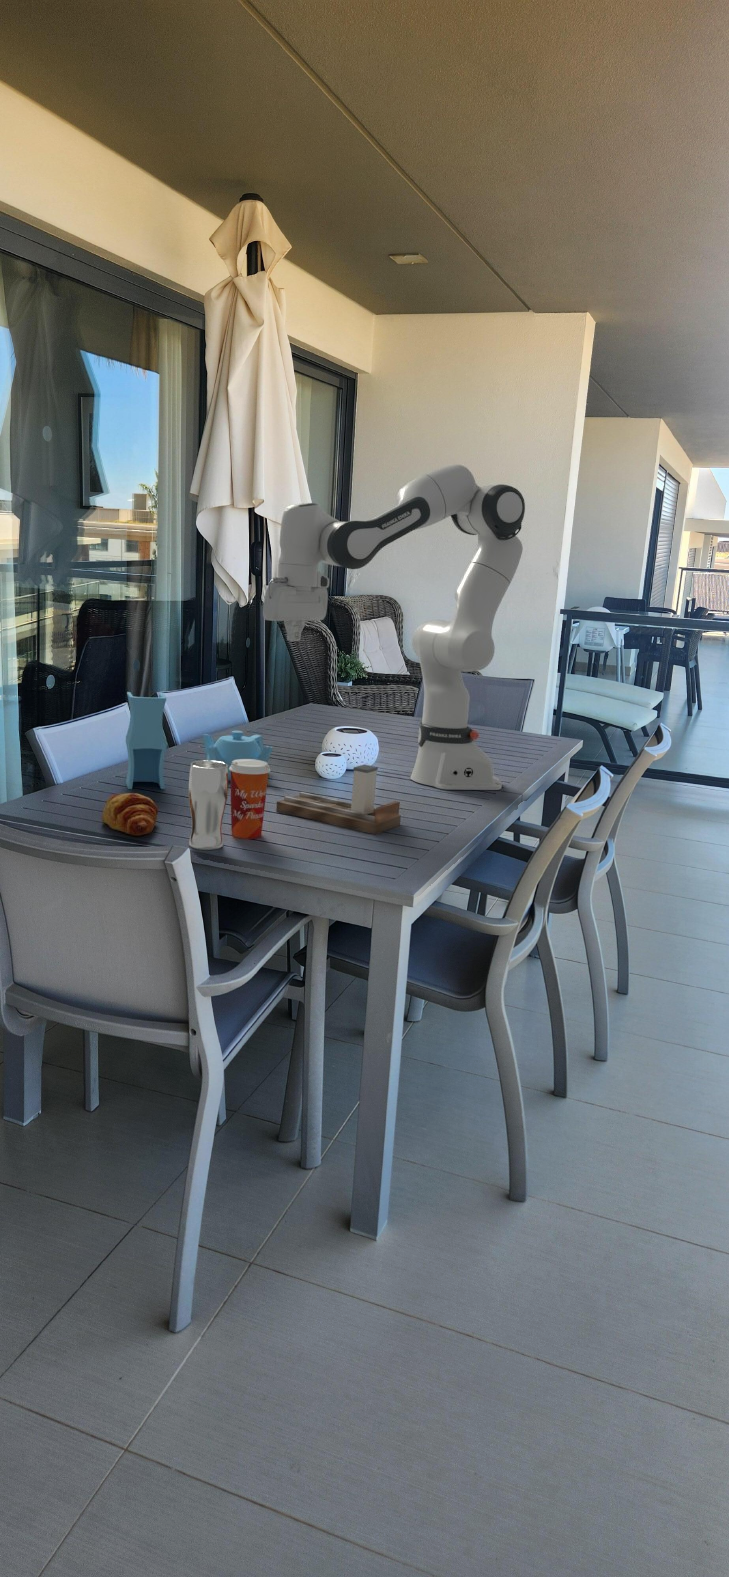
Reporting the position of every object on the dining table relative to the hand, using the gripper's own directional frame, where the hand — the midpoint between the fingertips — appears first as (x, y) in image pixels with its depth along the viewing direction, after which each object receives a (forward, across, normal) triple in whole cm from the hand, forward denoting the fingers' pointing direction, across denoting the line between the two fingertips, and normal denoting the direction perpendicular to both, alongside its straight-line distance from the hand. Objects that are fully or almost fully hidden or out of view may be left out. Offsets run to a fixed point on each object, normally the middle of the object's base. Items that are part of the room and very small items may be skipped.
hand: (293, 640), depth 224 cm
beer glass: (+33, -50, -18) cm, 63 cm away
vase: (+33, -25, +20) cm, 46 cm away
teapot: (+33, -3, +13) cm, 36 cm away
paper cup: (+33, -40, -20) cm, 56 cm away
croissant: (+34, -50, 0) cm, 61 cm away
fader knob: (+31, -17, -31) cm, 47 cm away
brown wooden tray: (+33, -16, -25) cm, 45 cm away
